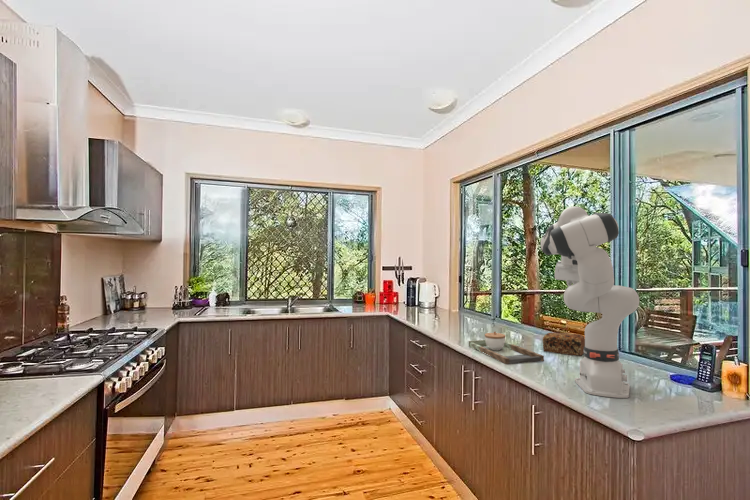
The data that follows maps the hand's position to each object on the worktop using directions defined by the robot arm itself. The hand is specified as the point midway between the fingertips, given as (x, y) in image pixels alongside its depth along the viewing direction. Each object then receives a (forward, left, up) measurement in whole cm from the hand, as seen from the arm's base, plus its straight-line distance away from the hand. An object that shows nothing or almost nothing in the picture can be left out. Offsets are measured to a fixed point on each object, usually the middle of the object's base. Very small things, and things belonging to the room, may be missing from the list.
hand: (572, 290), depth 183 cm
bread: (+23, +3, -34) cm, 41 cm away
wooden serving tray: (+9, +32, -34) cm, 48 cm away
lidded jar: (+17, +37, -34) cm, 53 cm away
